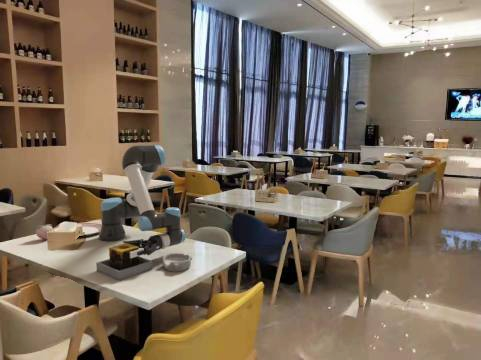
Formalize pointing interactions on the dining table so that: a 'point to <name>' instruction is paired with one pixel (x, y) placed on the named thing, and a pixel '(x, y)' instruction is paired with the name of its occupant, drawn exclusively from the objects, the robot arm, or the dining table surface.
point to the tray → (126, 273)
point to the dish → (176, 262)
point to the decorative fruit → (43, 231)
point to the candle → (122, 256)
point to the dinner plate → (91, 228)
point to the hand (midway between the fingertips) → (121, 252)
